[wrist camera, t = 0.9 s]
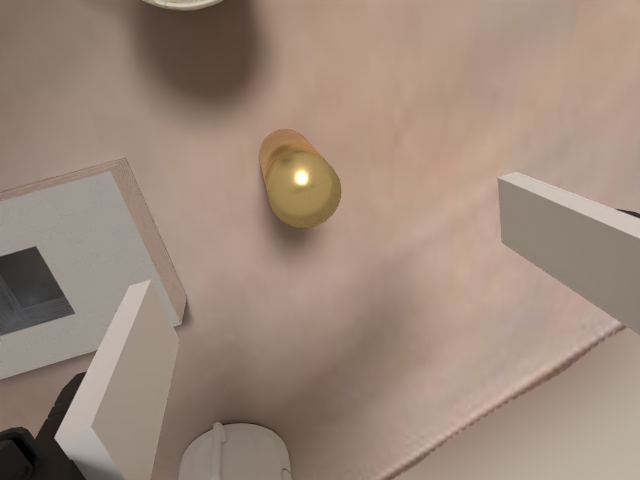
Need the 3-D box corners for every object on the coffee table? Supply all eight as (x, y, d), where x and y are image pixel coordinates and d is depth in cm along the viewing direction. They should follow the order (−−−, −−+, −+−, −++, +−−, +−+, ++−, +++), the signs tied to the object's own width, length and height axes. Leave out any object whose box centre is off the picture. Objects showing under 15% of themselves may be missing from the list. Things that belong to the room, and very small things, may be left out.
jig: (-136, 229, 29) (-190, 253, 25) (125, 157, 30) (110, 170, 26) (-34, 363, 34) (-67, 399, 30) (186, 297, 35) (181, 324, 31)
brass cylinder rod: (252, 137, 31) (258, 168, 22) (304, 123, 31) (332, 147, 22) (268, 188, 33) (279, 236, 24) (317, 174, 33) (347, 216, 24)
